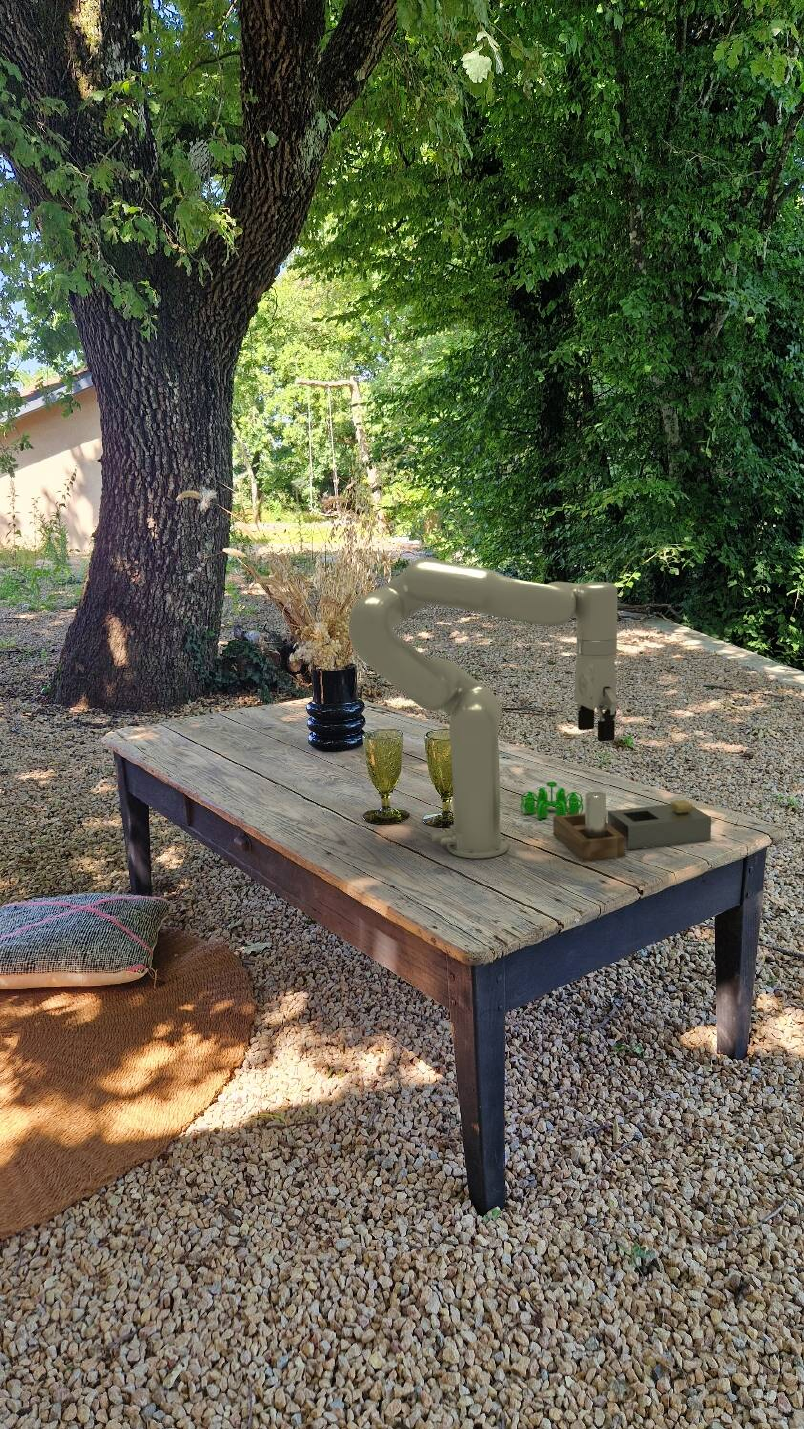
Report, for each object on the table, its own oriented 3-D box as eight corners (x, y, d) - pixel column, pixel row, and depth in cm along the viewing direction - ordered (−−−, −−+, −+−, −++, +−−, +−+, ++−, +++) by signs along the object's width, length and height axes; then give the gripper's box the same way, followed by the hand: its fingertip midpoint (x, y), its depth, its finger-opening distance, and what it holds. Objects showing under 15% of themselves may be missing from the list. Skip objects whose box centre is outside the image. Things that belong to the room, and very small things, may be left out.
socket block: (628, 850, 182) (628, 826, 181) (607, 833, 191) (607, 811, 190) (710, 840, 185) (711, 817, 184) (686, 824, 195) (686, 802, 193)
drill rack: (582, 861, 177) (582, 842, 176) (553, 834, 192) (553, 816, 191) (625, 856, 178) (625, 837, 178) (593, 829, 194) (593, 812, 193)
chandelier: (570, 827, 197) (570, 796, 195) (507, 817, 205) (507, 788, 203) (594, 807, 209) (594, 778, 208) (534, 799, 217) (534, 771, 216)
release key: (677, 836, 187) (677, 806, 186) (669, 831, 190) (670, 801, 189) (691, 834, 188) (692, 804, 186) (683, 829, 191) (684, 800, 189)
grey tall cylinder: (589, 856, 179) (590, 798, 177) (582, 849, 183) (582, 792, 181) (608, 854, 180) (609, 796, 177) (600, 847, 184) (601, 790, 181)
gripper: (561, 643, 180) (561, 726, 184) (596, 655, 164) (595, 747, 167) (597, 640, 182) (596, 723, 185) (634, 653, 165) (633, 743, 169)
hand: (595, 734), depth 176 cm, fingers open, 9 cm apart
